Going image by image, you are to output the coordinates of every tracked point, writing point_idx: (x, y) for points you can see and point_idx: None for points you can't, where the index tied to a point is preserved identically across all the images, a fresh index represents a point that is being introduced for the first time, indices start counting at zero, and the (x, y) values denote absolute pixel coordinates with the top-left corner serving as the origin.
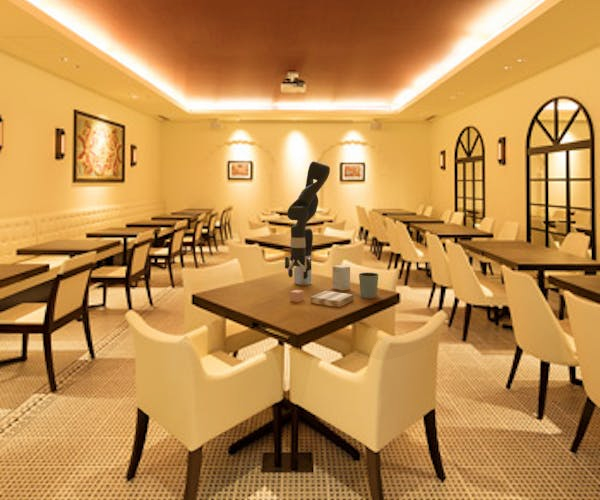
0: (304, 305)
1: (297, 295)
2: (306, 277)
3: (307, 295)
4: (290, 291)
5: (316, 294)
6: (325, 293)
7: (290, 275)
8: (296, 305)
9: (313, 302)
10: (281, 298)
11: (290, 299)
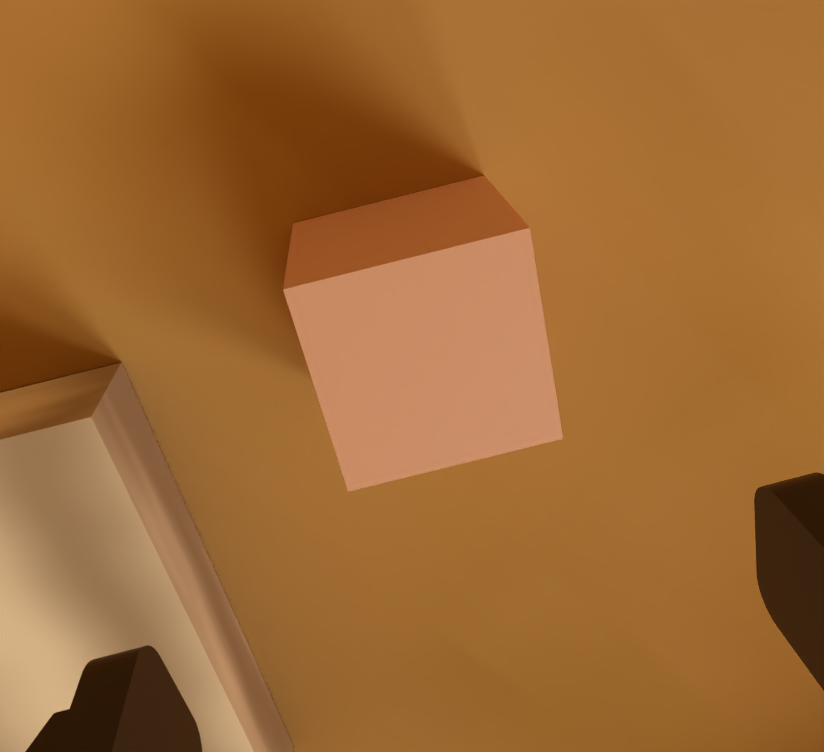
0: (14, 136)
1: (318, 259)
2: (55, 748)
3: (519, 610)
4: (528, 235)
5: (180, 602)
6: None
7: (798, 535)
8: (115, 2)
9: (55, 383)
10: (740, 182)
11: (483, 183)
